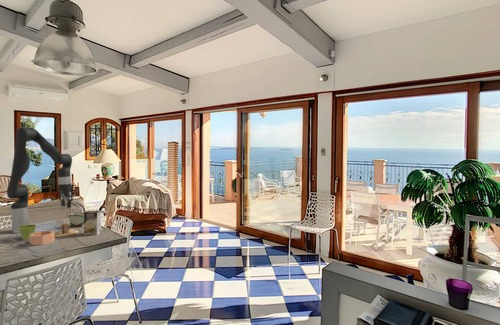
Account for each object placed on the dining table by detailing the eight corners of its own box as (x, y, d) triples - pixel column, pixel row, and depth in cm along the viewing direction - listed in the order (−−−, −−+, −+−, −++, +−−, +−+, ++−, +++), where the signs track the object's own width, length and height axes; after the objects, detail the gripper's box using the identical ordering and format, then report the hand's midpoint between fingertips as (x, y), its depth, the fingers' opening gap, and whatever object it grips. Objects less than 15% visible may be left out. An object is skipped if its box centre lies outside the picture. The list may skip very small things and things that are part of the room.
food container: (89, 225, 224) (88, 212, 224) (84, 227, 218) (83, 214, 218) (74, 225, 226) (73, 212, 225) (68, 227, 219) (68, 214, 219)
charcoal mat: (45, 236, 197) (45, 235, 197) (71, 230, 212) (71, 229, 212) (59, 240, 189) (58, 239, 188) (85, 233, 203) (85, 232, 203)
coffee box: (83, 236, 198) (82, 212, 197) (88, 233, 204) (87, 210, 203) (97, 235, 198) (96, 212, 197) (101, 233, 205) (101, 210, 204)
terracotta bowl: (26, 244, 182) (26, 234, 182) (48, 238, 193) (47, 229, 192) (36, 247, 176) (35, 237, 176) (57, 241, 186) (57, 232, 186)
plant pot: (22, 242, 185) (22, 229, 185) (16, 240, 190) (15, 227, 190) (39, 238, 193) (39, 225, 193) (33, 236, 198) (32, 223, 198)
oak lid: (47, 235, 197) (47, 225, 197) (70, 230, 210) (70, 220, 210) (59, 239, 190) (59, 228, 189) (82, 233, 203) (82, 223, 202)
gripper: (54, 183, 201) (55, 207, 202) (63, 184, 193) (65, 208, 194) (65, 182, 207) (67, 205, 208) (75, 183, 199) (77, 206, 200)
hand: (66, 206), depth 201 cm, fingers open, 8 cm apart
